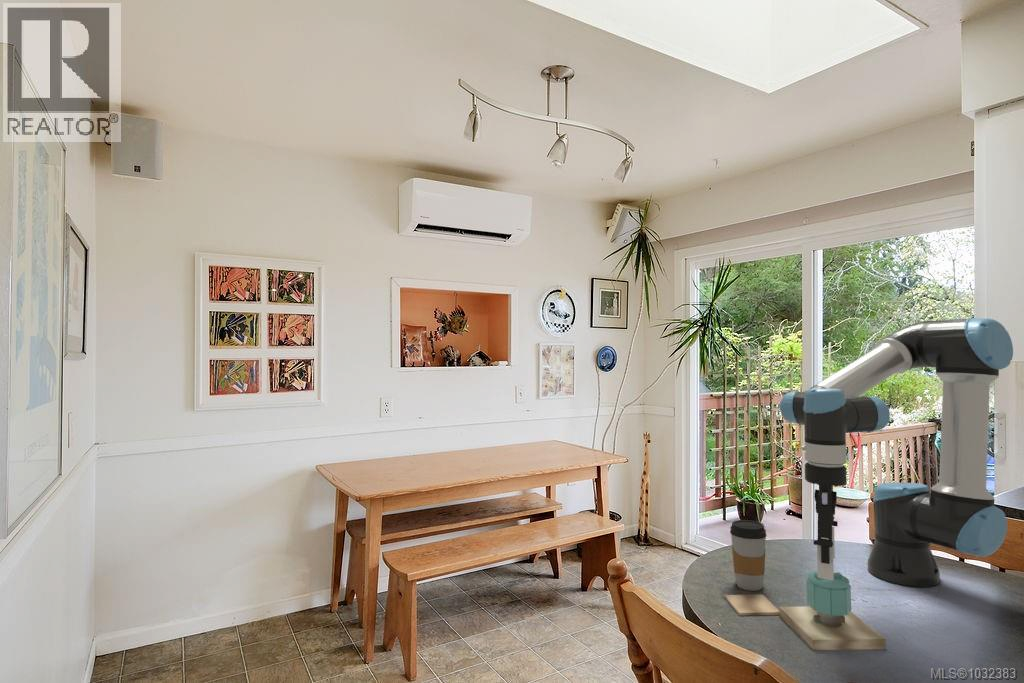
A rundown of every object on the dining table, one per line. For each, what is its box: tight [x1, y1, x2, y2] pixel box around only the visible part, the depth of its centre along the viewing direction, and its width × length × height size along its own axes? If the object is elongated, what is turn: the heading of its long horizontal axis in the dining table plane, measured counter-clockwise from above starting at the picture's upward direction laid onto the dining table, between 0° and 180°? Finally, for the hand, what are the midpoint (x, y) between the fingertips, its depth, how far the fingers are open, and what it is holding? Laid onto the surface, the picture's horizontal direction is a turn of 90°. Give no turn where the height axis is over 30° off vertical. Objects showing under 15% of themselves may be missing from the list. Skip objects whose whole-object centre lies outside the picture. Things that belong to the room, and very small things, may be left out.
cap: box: [806, 570, 852, 616], centre depth 116 cm, size 7×7×7 cm
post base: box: [778, 605, 887, 651], centre depth 116 cm, size 14×14×10 cm
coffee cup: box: [729, 519, 767, 591], centre depth 139 cm, size 8×8×15 cm
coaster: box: [724, 594, 780, 616], centre depth 128 cm, size 9×9×1 cm
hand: (826, 567), depth 116 cm, fingers open, 13 cm apart
